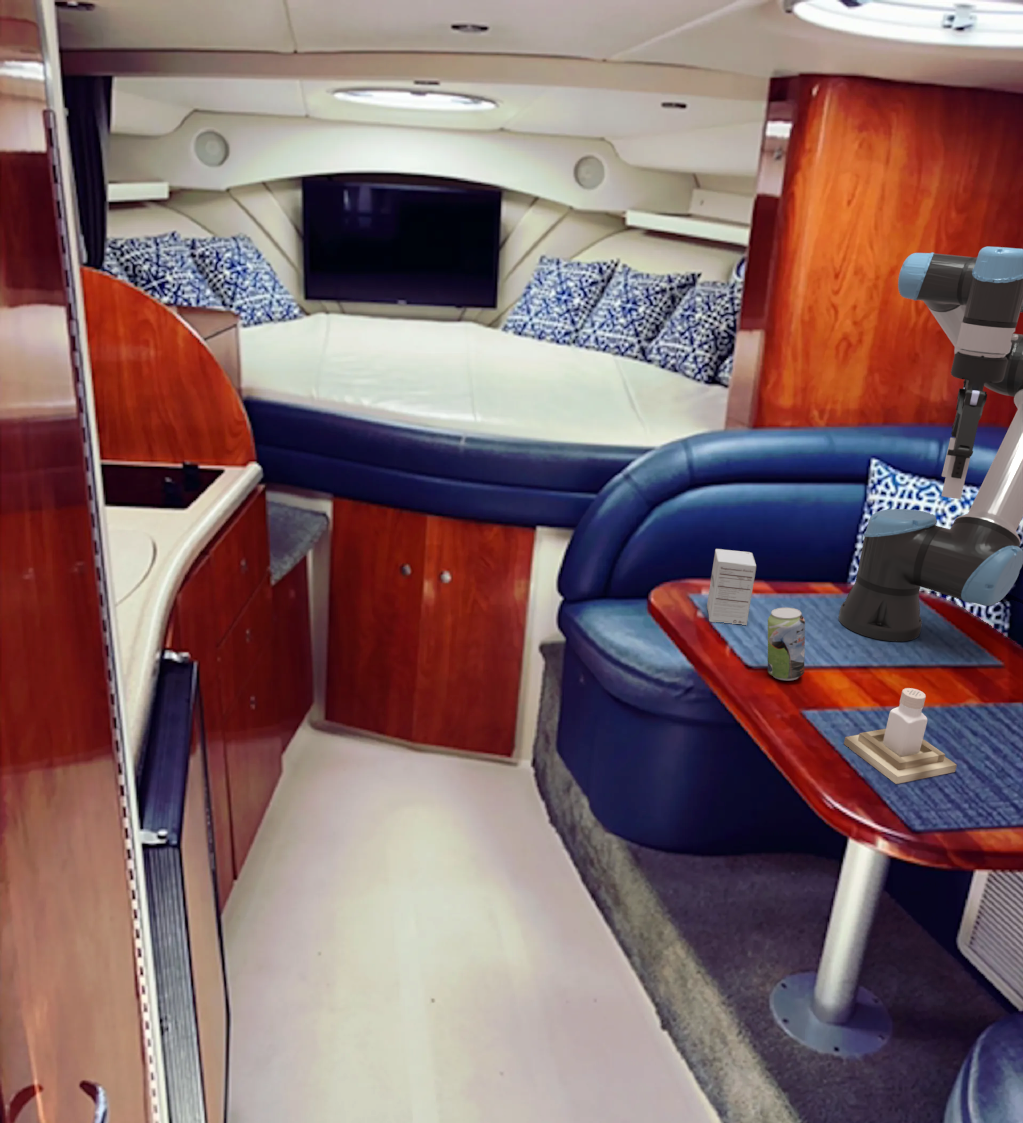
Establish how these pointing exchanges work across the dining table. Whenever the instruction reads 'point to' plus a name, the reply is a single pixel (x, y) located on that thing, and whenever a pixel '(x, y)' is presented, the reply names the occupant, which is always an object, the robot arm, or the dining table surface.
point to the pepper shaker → (906, 724)
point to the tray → (899, 758)
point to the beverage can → (786, 643)
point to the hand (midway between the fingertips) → (950, 487)
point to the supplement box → (731, 586)
